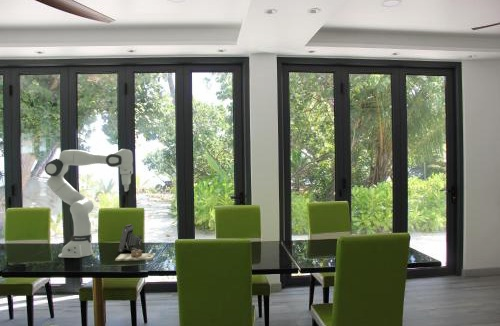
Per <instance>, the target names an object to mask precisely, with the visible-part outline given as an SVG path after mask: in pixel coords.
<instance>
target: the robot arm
mask: <svg viewBox="0 0 500 326" xmlns="http://www.w3.org/2000/svg"><path fill="white" fill-rule="evenodd" d="M133 157H134V155H133V151H132V150H130V149H128V148H127V149H126V148H121V149H120V150H118V151H115V152H113V153H110V154H108V155H105V154H95V153H92V152H89V151H86V150H81V149H80V150H79V149H64V150H62V151H60V154H59V157H58V158H54V159H52V160H50V161H48V162H47V163H46V164H45V166H44V171H45V173H46V175H48V176H50V177H48V180H47V182H46V183H47V186H48V187H49V189H50V190H51V191H52V192H53V193H54V194H55V195H56V196H57V197H58V198H60V200H61V201H62V202H64V203H66V204H67V205H69V206H70V207H69V211H70V214H71V217H72V222H73V235H71V237H70V241H69V242H67V243H66V244H65V245H64V246H63V247H62V249H61V253H59V254H58V258H69V259H71V258H74V259H77V258H78V259H79V258H83V257H88V256H92V255H94V251H93V245H92V240H93V239H92V233H91V232H92V228H91V227H92V226H91V225H92V224H91V221H90V217H89V214H90V213H91V212H92V211H93V209H94V205H95V204H94V203H93V201H92V200H90V199H89V198H87V197H86V196H85V195H84V194H82V193H80V192H79V191H78V190H77V189H75V188H74V187H73V185H71V184H70V183H69V182H68V181H67V180H66V179H65V177H66V176H67V174H68V172H69V171H70V166H75V167H76V166H78V167H79V166H80V167H81V166H91V165H94V164H101V165H102V164H104V165H107V166H109V167H112V168H119V174H120V175H121V185H122V186H123V188H124V192H128V191H129V190H130V184H131V179H132V178H131V177H132V175H133V174H134V166H133V163H134V158H133Z"/></svg>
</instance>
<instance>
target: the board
mask: <svg viewBox="0 0 500 326" xmlns="http://www.w3.org/2000/svg"><path fill="white" fill-rule="evenodd" d="M155 257H156V252H149V253H147V252H146V253H143V252H142V255H141V256H139V257H138V258H136V257H134V256H131V253H120V254H119V255H118V256H117V257H116V258H115V260H114V261H115V262H121V261H127V262H128V261H153V259H154V258H155Z"/></svg>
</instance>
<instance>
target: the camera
mask: <svg viewBox="0 0 500 326" xmlns="http://www.w3.org/2000/svg"><path fill="white" fill-rule="evenodd" d="M133 232H134V226H133V223H130V224H127V225H125V226H124V227H123V228H122V232H121V237H120V240H119V245H118V252H119V253H120V254H123V252H125V251H130V252H131V251H133V250H142V252H144V251H145V250H144V249H141V246H142V244H143V235H141V234H138V236H137V235H136V234H134V233H133ZM135 246H137V247H135Z"/></svg>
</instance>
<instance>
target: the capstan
mask: <svg viewBox="0 0 500 326" xmlns="http://www.w3.org/2000/svg"><path fill="white" fill-rule="evenodd" d="M142 250H143V249H142ZM142 250H133V251H130V252H131V253H130V254H131V256H134V257H136V258H138V257H139V256H141V255H142V253H143V251H142Z"/></svg>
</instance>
